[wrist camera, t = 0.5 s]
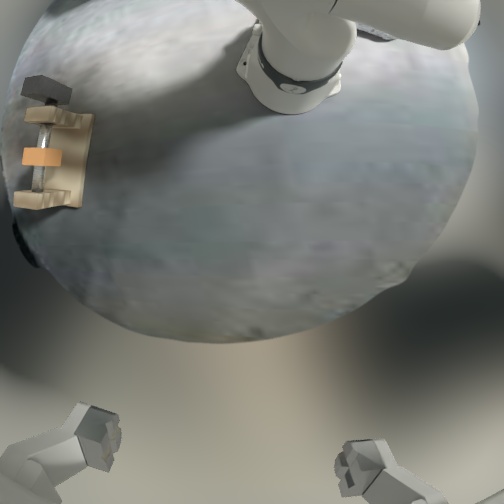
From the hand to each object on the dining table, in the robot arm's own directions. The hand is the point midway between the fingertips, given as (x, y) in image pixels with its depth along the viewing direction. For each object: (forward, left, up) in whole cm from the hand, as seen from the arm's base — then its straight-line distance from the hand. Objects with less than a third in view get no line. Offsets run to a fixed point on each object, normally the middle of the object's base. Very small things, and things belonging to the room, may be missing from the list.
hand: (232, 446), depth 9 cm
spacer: (-9, -37, -40) cm, 55 cm away
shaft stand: (-9, -37, -46) cm, 60 cm away
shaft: (-11, -37, -40) cm, 55 cm away
